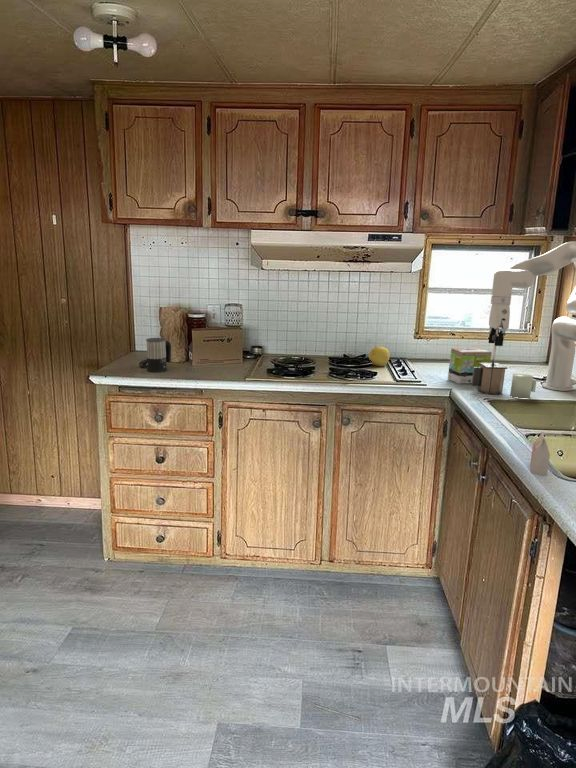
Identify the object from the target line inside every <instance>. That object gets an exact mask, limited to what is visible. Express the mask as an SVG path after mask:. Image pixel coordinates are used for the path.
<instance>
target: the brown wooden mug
mask: <svg viewBox="0 0 576 768" xmlns="http://www.w3.org/2000/svg"><path fill="white" fill-rule="evenodd" d="M479 364H480V367H474V368H473V376H472V383H471V386H472V387H476V390H477V392H478V393H481V394H484V395H489V396H491V395H493V396H496V395H497V396H499V394H500V395H502V394H503V392H504V383H505V376H506V375H505V374H506V370H507V369H508V367H507V366H505V365H503V364H501V363H499V362H494V366H492V362H490V363H479Z"/></svg>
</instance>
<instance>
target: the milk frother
mask: <svg viewBox="0 0 576 768" xmlns="http://www.w3.org/2000/svg"><path fill="white" fill-rule="evenodd" d="M145 341H146V356H147V357H146V359H143V360H141V361H139V363H138V366H139V367H140V368H144V369H145V368H147V369H146V371H147V372H150V373H163V372H166V371H168V367H167V363H170V362H171V361H172V360H171V359H172V344H171V343H170V341H169V340H167V339H166V338H164V337H149V338H146V339H145Z"/></svg>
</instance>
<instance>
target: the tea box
mask: <svg viewBox="0 0 576 768" xmlns="http://www.w3.org/2000/svg"><path fill="white" fill-rule="evenodd" d="M492 354H493V351H489V350H487V349H482V348H480V347H479V348H478V347H477V348H476V347H475V348H474V347H473V348H471V347H469V348H468V347H466V348H464V347H462V348H455V347H453V348H451V350H450V357H449V366H448V373H447V379H448V380H450V381H451V382H454V383H457V384H472V376H473V368H474V367H480V364H479V363H491V362H492Z"/></svg>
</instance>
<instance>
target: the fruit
mask: <svg viewBox="0 0 576 768" xmlns="http://www.w3.org/2000/svg"><path fill="white" fill-rule="evenodd" d="M390 355H391V354H390V350H389V349H388V348H386V347H384V346H375V347H374V348H372V349H371V350H370V352H369V354H368V358H369V361H370V360H371V361H372V363H371V364H372V365H373V366H376V367H383V366H386V365H387V364H388V362H389V360H390ZM371 361H370V362H371Z"/></svg>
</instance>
